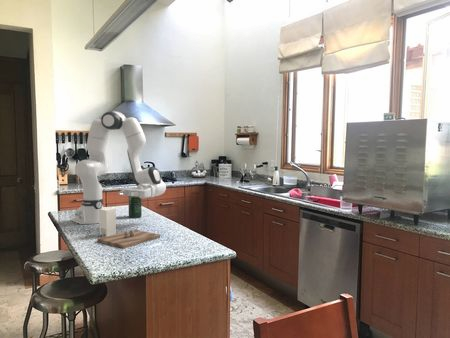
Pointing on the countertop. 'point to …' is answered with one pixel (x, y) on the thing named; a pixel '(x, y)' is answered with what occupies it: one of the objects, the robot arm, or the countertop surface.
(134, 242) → the stub board
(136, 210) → the coffee jar
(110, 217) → the housing
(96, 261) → the countertop surface
